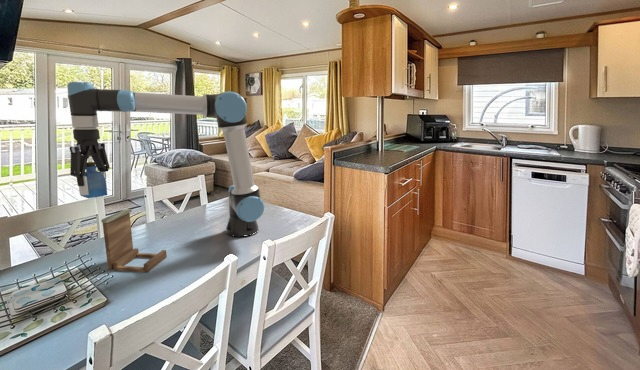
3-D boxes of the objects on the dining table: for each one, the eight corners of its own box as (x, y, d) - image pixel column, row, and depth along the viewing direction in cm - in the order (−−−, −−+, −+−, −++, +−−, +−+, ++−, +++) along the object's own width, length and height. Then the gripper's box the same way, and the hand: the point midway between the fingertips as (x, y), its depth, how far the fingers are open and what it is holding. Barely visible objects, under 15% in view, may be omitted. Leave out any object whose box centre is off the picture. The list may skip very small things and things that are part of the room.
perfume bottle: (99, 192, 126) (95, 160, 124) (107, 195, 123) (103, 162, 120) (80, 195, 121) (76, 162, 119) (88, 198, 118) (83, 164, 115)
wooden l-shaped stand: (167, 256, 133) (163, 210, 129) (147, 272, 119) (142, 221, 115) (131, 254, 134) (126, 208, 130) (107, 270, 120) (101, 219, 116)
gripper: (97, 126, 128) (104, 185, 133) (49, 129, 107) (59, 198, 112) (116, 127, 127) (122, 185, 132) (71, 130, 106) (81, 199, 111)
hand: (93, 191), depth 122 cm, fingers closed on perfume bottle, 8 cm apart
